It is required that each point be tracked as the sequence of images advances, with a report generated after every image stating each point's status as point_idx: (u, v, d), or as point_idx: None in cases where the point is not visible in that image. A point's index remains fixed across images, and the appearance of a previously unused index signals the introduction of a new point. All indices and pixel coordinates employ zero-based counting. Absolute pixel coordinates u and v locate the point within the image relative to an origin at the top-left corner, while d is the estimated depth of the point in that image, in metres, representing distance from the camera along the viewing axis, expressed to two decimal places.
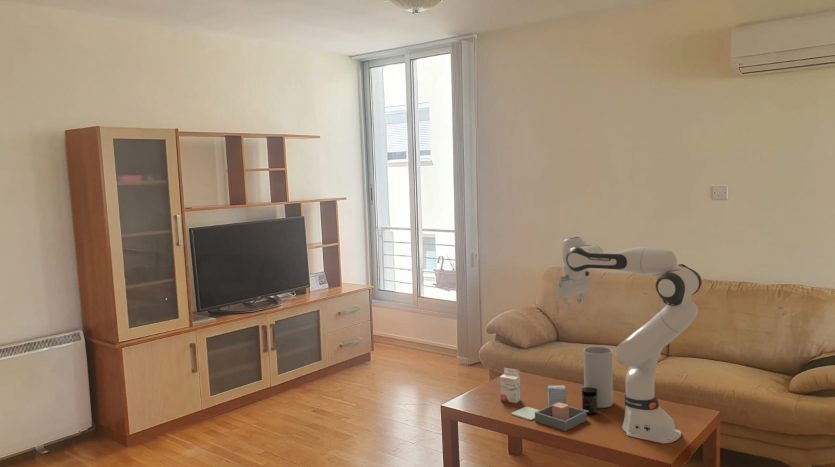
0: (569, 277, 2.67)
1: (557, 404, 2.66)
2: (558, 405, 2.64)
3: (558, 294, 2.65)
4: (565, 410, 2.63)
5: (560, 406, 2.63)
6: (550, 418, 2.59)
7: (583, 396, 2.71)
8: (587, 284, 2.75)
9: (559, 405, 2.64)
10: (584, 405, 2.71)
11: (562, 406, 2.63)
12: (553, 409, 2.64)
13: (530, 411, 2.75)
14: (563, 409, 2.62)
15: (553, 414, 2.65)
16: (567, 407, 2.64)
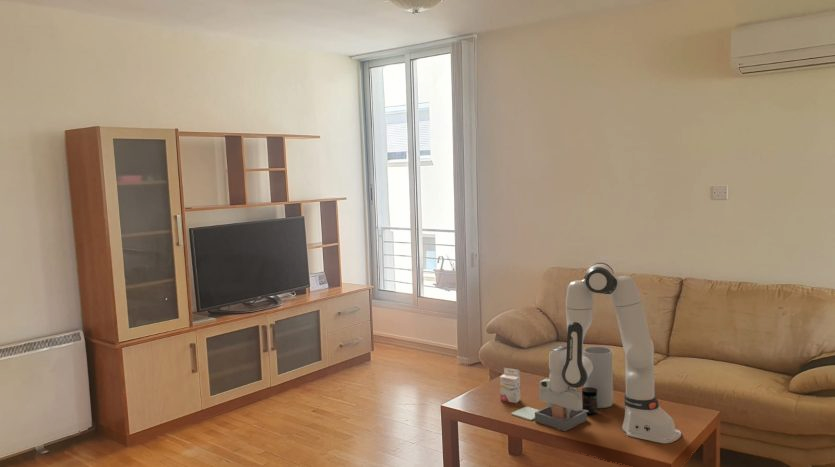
0: None
1: None
2: None
3: (579, 407, 2.56)
4: (565, 410, 2.63)
5: None
6: (550, 418, 2.59)
7: (583, 396, 2.71)
8: None
9: None
10: (584, 405, 2.71)
11: None
12: (553, 409, 2.64)
13: (530, 411, 2.75)
14: (563, 409, 2.62)
15: (553, 414, 2.65)
16: None
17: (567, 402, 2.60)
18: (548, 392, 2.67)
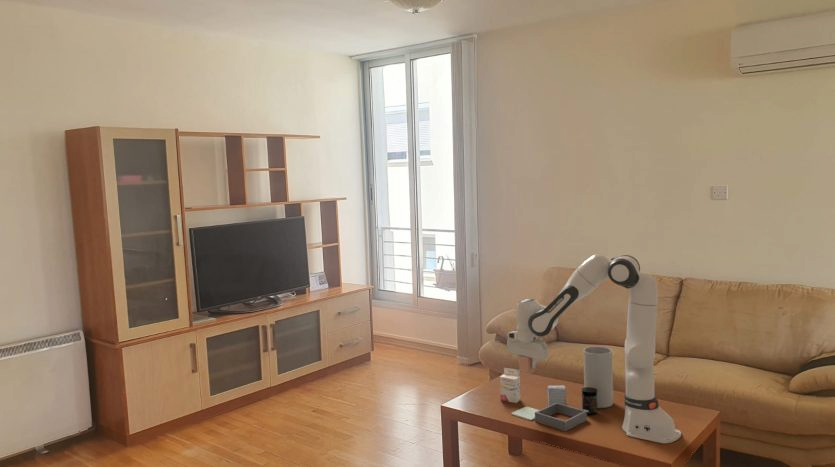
0: None
1: None
2: None
3: (544, 357, 2.64)
4: None
5: None
6: (550, 418, 2.59)
7: (583, 396, 2.71)
8: None
9: None
10: (584, 405, 2.71)
11: None
12: (520, 359, 2.72)
13: (530, 411, 2.75)
14: (529, 359, 2.69)
15: (520, 364, 2.72)
16: None
17: (533, 352, 2.67)
18: (515, 343, 2.74)
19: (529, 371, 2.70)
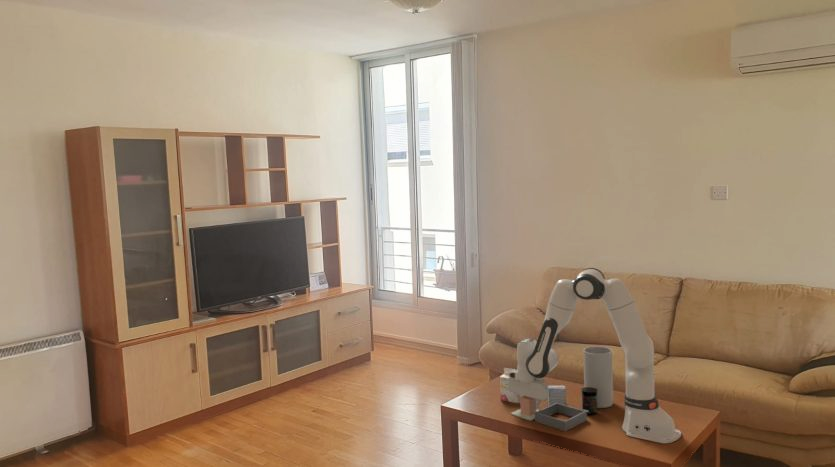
0: None
1: (525, 396, 2.75)
2: (526, 397, 2.73)
3: (545, 397, 2.66)
4: (533, 402, 2.72)
5: (528, 398, 2.72)
6: (550, 418, 2.59)
7: (583, 396, 2.71)
8: None
9: (527, 397, 2.73)
10: (584, 405, 2.71)
11: (530, 398, 2.72)
12: (521, 401, 2.74)
13: None
14: (530, 401, 2.71)
15: (521, 406, 2.74)
16: (534, 399, 2.73)
17: (534, 392, 2.69)
18: (516, 383, 2.76)
19: (530, 413, 2.71)
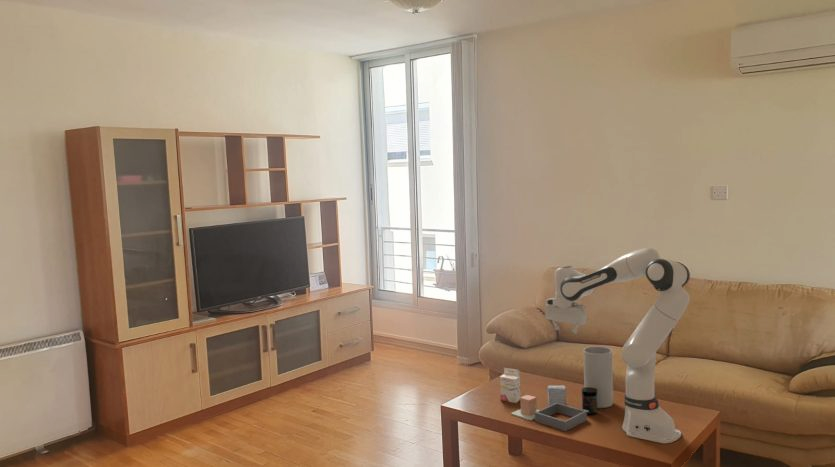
0: None
1: (525, 396, 2.75)
2: (526, 397, 2.73)
3: (583, 321, 2.72)
4: (533, 402, 2.72)
5: (528, 398, 2.72)
6: (550, 418, 2.59)
7: (583, 396, 2.71)
8: None
9: (527, 397, 2.73)
10: (584, 405, 2.71)
11: (530, 398, 2.72)
12: (521, 401, 2.74)
13: None
14: (530, 401, 2.71)
15: (521, 406, 2.74)
16: (534, 399, 2.73)
17: (572, 317, 2.75)
18: (554, 310, 2.83)
19: (530, 413, 2.71)
